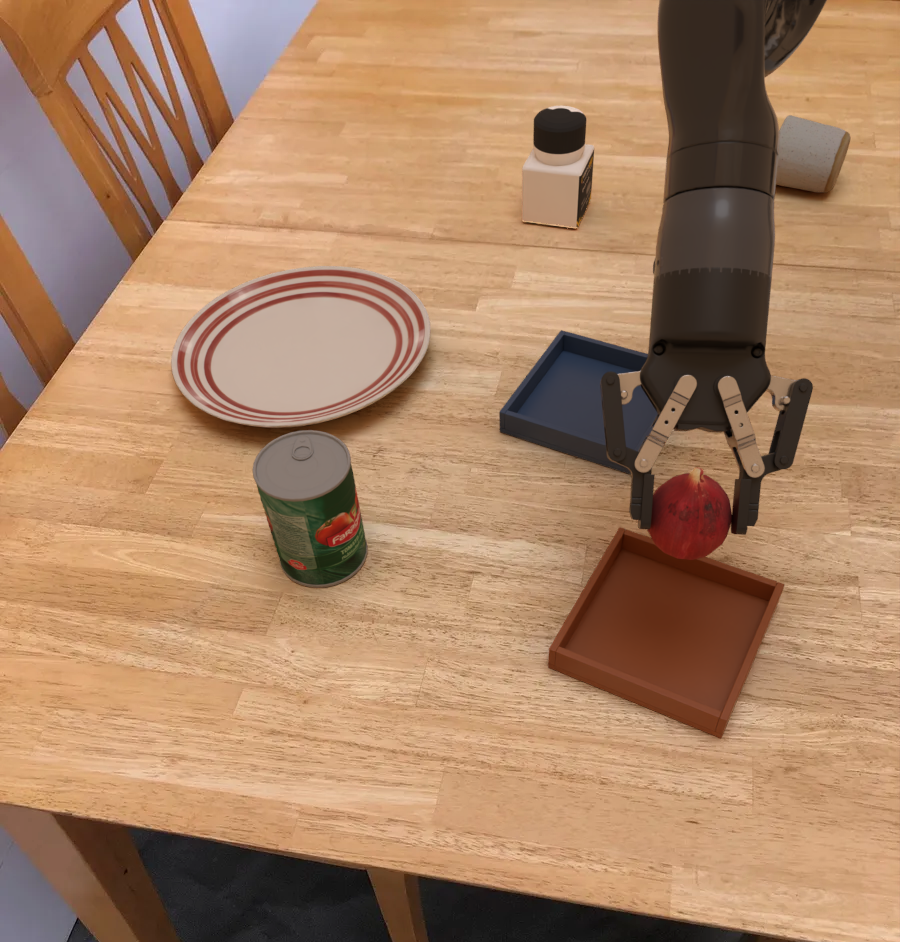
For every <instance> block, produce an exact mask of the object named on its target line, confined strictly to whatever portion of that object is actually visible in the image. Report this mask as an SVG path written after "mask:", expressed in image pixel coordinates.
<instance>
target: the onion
mask: <svg viewBox="0 0 900 942" xmlns="http://www.w3.org/2000/svg"><path fill="white" fill-rule="evenodd" d="M731 521H732V505H731V500H730V497H729V495H728V493H727V492H726V491H725V489H724V488H723V487H722V485H721V484H720V483H719V482H718V481H716V480H715V479H713V478H712V477H710V476H709V475H707V474H705V471H704V469H703V468H702V467H698V466H696V467H694V468H693V470H691V471H690V472H686V473H681V474H678V475H674V476H672V477H670V479H667V480H666V481H665V482H663V483H662V484H660V485H659V486H658V487H657V488H656V490H655V491H654V492H653V503H652V516H651V527H650V529H646V530H647V532H648V535H649V537H650V538H652V540H653V542H654V543H655V545H656V546H657V547H658V548H659V549H661V550H662V551H663V552H664V553H666V554H668V555H670V556H673V557H675V558H678V559H687V560H694V559H698V558H702V557H708V556H709V555H711V554H712V553H713V552H714V551H716V550H717V549H718V548H719V547H721V546H723V544H724V542H725V540H726V539H727V537H728V534H729V531H730V530H731Z"/></svg>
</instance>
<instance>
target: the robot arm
mask: <svg viewBox="0 0 900 942" xmlns="http://www.w3.org/2000/svg"><path fill="white" fill-rule="evenodd" d="M827 2H828V0H659V1H658V6H657V23H656V25H657V27H656V29H657V47H658V59H659V67H660V78H661V79H660V80H661V85H662V86H661V87H662V97H663V98H662V99H663V103H664V104H663V105H664V109H665V115H666V121H667V129H668V144H667V145H668V146H667V153H666V162H665V173H664V174H665V175H664V184H663V185H664V186H663V199H662V200H663V201H662V211H661V217H660V222H659V226H658V232H657V237H656V243H655V245H656V247H655V255H654V256H655V257H654V261H653V262H652V273H653V284H652V295H651V296H652V297H651V298H652V299H651V310H650V312H651V313H650V326H649V338H648V339H649V340H648V350H647V351H648V352H647V354H648V357H647V360H646V362H645V364H644V365H643V367H642V368H641V370H640V371H636V372H628V373H621V374H617V373H615V372H612V371H610V372H606V373H605V374H604V375H603V377H602V379H601V382H600V391H601V401H602V411H603V422H604V432H605V442H606V453H607V457H608V459H609V460H610V461H612V462H615V463H617V464H620V465H622V466H624V467H626V468H628V469H629V471H630V472H631V474H630V476H631V481H630V493H629V494H630V495H629V505H628V506H629V508H628V512H629V516H630V519H631V520H633V521H637V529H639V530H647V529H650V527H651V516H652V503H653V494H654V490H655V489H654V488H655V474H652V472H653V471H652V470H653V466H654V464H655V463H656V462H657V459H658V457H659V455H660V454H661V451H662V450H663V448H664V446H665V445H666V443H667V442H668V440H669V438H670V436H671V434H672V433H673V431H674V432H689V431H693V430H699V431H703V432H706V433H715V434H716V433H717V434H721V433H723V435H724V438H725V440H726V443H727V445H728V447H729V449H730V450H731V453H732V455H733V459H734V461H735V464H736V466H737V469H738V478H734V487H733V495H732V496H733V497H732V507H731V512H732V521H731V526H730V533H731V534H733V535H739V536H740V535H743V536H746V535H747V532H748V527H755V525H756V523H757V522H758V519H759V510H760V499H761V488H762V487H761V486H762V481H763V479H764V478H765V477H766V476H767V475H769V474H772V473H775V472H779V471H782V470H788V469H790V468H792V465H793V464H794V461H795V458H796V453H797V450H798V446H799V442H800V438H801V434H802V431H803V427H804V424H805V420H806V417H807V412H808V408H809V405H810V401H811V397H812V394H813V390H814V385H813V382H812V381H811V380H810V379H809V378H805V377H804V378H799V379H791V378H786V377H782V376H776V375H772V374H771V371H770V369H769V367H768V364H767V361H766V347H767V346H766V345H767V336H768V335H767V334H768V324H769V312H770V301H771V290H772V279H773V270H774V257H775V246H776V224H775V223H776V222H775V199H776V188H777V187H776V186H777V185H776V177H777V166H778V155H779V130H780V124H779V120H778V116H777V114H776V111H775V109H774V107H773V105H772V102H771V100H770V98H769V95H768V92H767V88H766V87H767V86H766V79H765V78H767V77H768V76H770V75H772V74H773V73H774V72H775V71H777V70H778V69H779V68H780V67H782V65H784V64H785V63H786V61H788V60H789V59H790V57H792V56H793V54H794V53H795V52H796V51H797V50H798V48H799V47H800V46H801V44H802V43H803V42H804V40H805V39H806V38H807V36H808V34H809V33H810V32H811V30H812V28H813V27H814V26H815V23H816V22H817V20H818V19H819V16H820V15H821V13H822V11H823V8H824V7H825V5H826V3H827ZM638 386H641V388H642V389H643V391H644V392H645V394H646V396H647V397H648V399H649V400H650V402H651V403H652V405H653V407H654V408H655V410H656V411H657V413H658V414H657V416H656V418H655V419H654V421H653V423H652V425H651V427H650V429H649V431H648V433H647V434H646V437H645V439H644V441H643V443H642V445H641V446H640V448H639V450H638V451H635V450H633V449H631V448H628V447H626V441H625V431H624V420H623V410H622V406H623V405H626V404H628V403H629V402H630V401H631V399H632V394H633V390H634V389H635V388H636V387H638ZM766 392H768V393H769V394H770V395H771V406H772V409H774V410H775V411H776V412H778V415H777V420H776V423H775V427H774V430H773V433H772V439H771V443H770V446H769V450H768V453H767V454H763V455H761V452H760V449H759V447H758V444H757V440H756V433H755V431H754V428H753V426H752V423H751V421H750V418H749V415H748V413H749V411H750V410H751V409H752V408H753V407H754V406H755V405H756V404H757V402H758V401H759V400H760V399H761V398H762V396H763V395H764V394H765V393H766Z"/></svg>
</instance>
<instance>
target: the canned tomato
mask: <svg viewBox="0 0 900 942" xmlns="http://www.w3.org/2000/svg"><path fill="white" fill-rule="evenodd" d="M352 466H353V465H352V458H351V453H350V450H349V448H348V447H347V445H346V444H345V443H344V442H343V441H342V440H341V439H340V438H338V437H337V436H336V435H333V434H331V433H329V432H327V431H326V432H325V431H321V430H315V429H314V430H312V429H308V430H307V429H305V430H297V431H291V432H288V433H285V434H283V435H280V436H278V437H276V438H274V439H272V440H271V441H270V442H268V443H266V445H265V446H263V448H261V449H260V450H259V452H258V453H257V455H256V456H255V459H254V461H253V465H252V477H253V478H252V479H253V480H254V482H255V484H256V488H257V493H258V495H259V497H260V501H261V504H262V508H263V511H264V515H265V517H266V521H267V523H268V528H269V531H270V535H271V537H272V540H273V544H274V548H275V550H276V553H277V556H278V559H279V565H280V568H281V569H282V571H283V574H285V576H286V577H287V578H288V579H290V580H291V581H292V582H294V583H296V584H298V585H300V586H304V587H308V588H317V589H319V588H328V587H333V586H337V585H339V584H342V583H344V582H346V581H348V580H349V579H351V578H352V577H353V576H355V575H356V574H357V573H358V572H359V571H360V570H361V568H363V566H364V564H365V562H366V561H367V560H366V559H367V556H368V548H369V547H368V542H367V539H366V532H365V527H364V523H363V517H362V512H361V506H360V501H359V496H358V492H357V491H358V490H357V486H356V480H355V476H354V470H353V467H352Z"/></svg>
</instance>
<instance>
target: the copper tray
mask: <svg viewBox="0 0 900 942" xmlns="http://www.w3.org/2000/svg"><path fill="white" fill-rule="evenodd" d="M784 588H785V583H782V582H780V581H777V580H774V579H772V578H768V577H766V576H762V575H759V574H756V573H753V572H750V571H748V570H745V569H743V568H739V567H736V566H734V565H730V564H728V563H725V562H722V561H719V560H716V559H713V558H710V557H708V556H706V557H702V558H698V559H694V560H687V559H678V558H675V557H673V556H670V555H668V554H666V553H664V552H663V551H662V550H661V549H659V548H658V547H657V546H656V545H655V543H654V542H653V540H652V538H651V536H647V535H644V534H641V533H638V532H635V531H633V530H630V529H626V528H625V527H620V526H619V527H618V529H617V531H616V532H615V534H614V536H613V538H612V539H611V541H610V542H609V544H608V546H607V547H606V549H605V551H604V553H603V554H602V556H601V558H600V560H599V562H598V563H597V565H596V566H595V568H594V570H593V572H592V574H591V575H590V577H589V579H588V580H587V582H586V584H585V586H583V589H582V591H581V593H580V594H579V596H578V598H577V600H576V601H575V603H574V605H573V606H572V608H571V609H570V611H569V613H568V615H567V617H566V619H564V622H563V624H562V625H561V627H560V628H559V631H558V632H557V634H556V636H555V638H554V639H553V641H552V642H551V645H550V646H549V648H548V657H547V658H548V659H547V662H548V663H547V668H549V669H552V670H554V671H556V672H558V673H561V674H564V675H566V676H568V677H571V678H573V679H576V680H578V681H580V682H583V683H585V684H588V685H590V686H592V687H595V688H597V689H600V690H602V691H605V692H607V693H610V694H612V695H615V696H617V697H619V698H622V699H624V700H626V701H629V702H632V703H634V704H637V705H639V706H642V707H643V708H646V709H647V710H648V709H649V710H650V711H654V712H656V713H659V714H661V715H663V716H665V717H668V718H670V719H672V720H675V721H678V722H680V723H683V724H685V725H687V726H689V727H692V728H694V729H697V730H700V731H702V732H703V733H706V734H709V735H711V736H714V737H717V738H719V739H722V738H723V735H724V733H725V731H726V728H727V726H728V723H729V721H730V719H731V716H732V714H733V711H734V709H735V707H736V705H737V703H738V700H739V697H740V695H741V692H742V690H743V688H744V686H745V683H746V681H747V679H748V676H749V673H750V671H751V668H752V666H753V665H754V661H755V659H756V657H757V655H758V652H759V650H760V647H761V645H762V643H763V640H764V637H765V635H766V633H767V630H768V629H769V626H770V624H771V621H772V619H773V616H774V614H775V612H776V609H777V607H778V605H779V602H780V599H781V596H782V594H783V591H784Z"/></svg>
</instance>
